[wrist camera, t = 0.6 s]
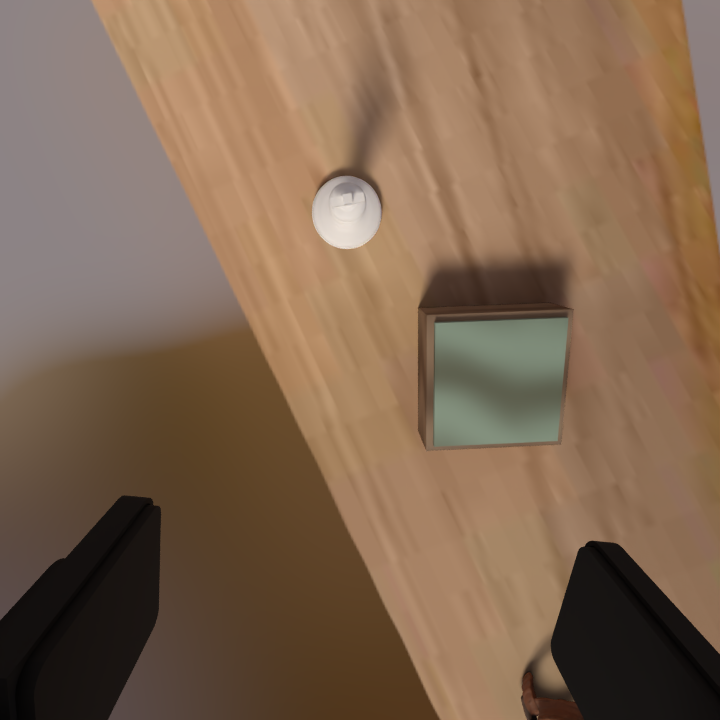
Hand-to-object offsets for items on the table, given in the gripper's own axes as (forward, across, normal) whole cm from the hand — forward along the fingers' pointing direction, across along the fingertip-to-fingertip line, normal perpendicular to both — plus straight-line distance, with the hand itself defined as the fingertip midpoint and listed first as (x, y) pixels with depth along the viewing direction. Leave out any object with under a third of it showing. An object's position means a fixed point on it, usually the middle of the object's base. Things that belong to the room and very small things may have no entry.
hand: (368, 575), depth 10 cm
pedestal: (+24, -10, +1) cm, 27 cm away
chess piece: (+25, +2, -9) cm, 26 cm away
